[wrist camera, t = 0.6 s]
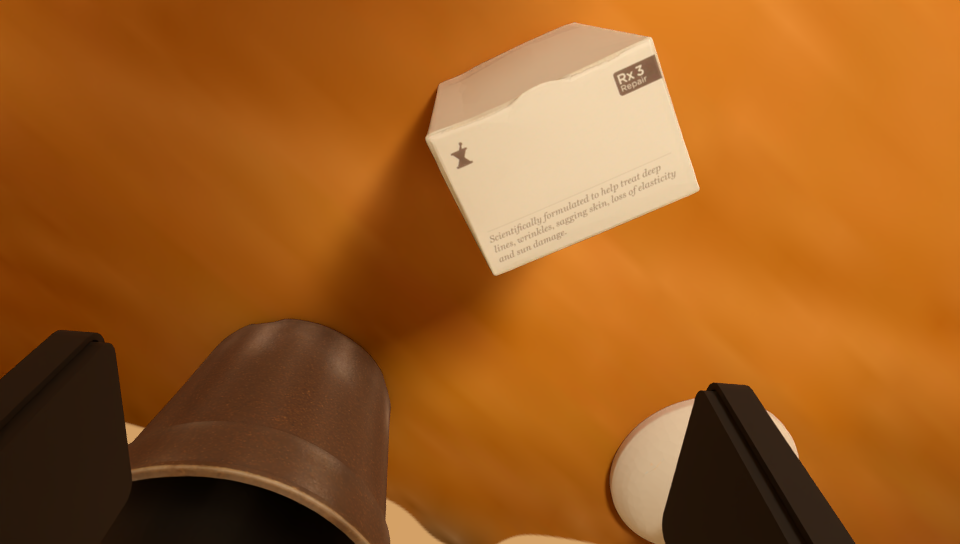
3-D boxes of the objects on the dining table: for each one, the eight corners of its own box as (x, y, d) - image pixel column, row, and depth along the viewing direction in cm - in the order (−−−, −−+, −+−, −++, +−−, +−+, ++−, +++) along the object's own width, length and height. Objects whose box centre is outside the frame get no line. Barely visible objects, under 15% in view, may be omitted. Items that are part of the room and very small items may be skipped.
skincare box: (479, 178, 38) (484, 292, 25) (433, 77, 36) (411, 141, 22) (620, 118, 37) (708, 203, 23) (582, 9, 35) (655, 33, 21)
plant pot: (365, 527, 48) (320, 770, 34) (140, 450, 45) (-17, 679, 31) (462, 349, 43) (459, 548, 28) (212, 246, 40) (60, 408, 25)
